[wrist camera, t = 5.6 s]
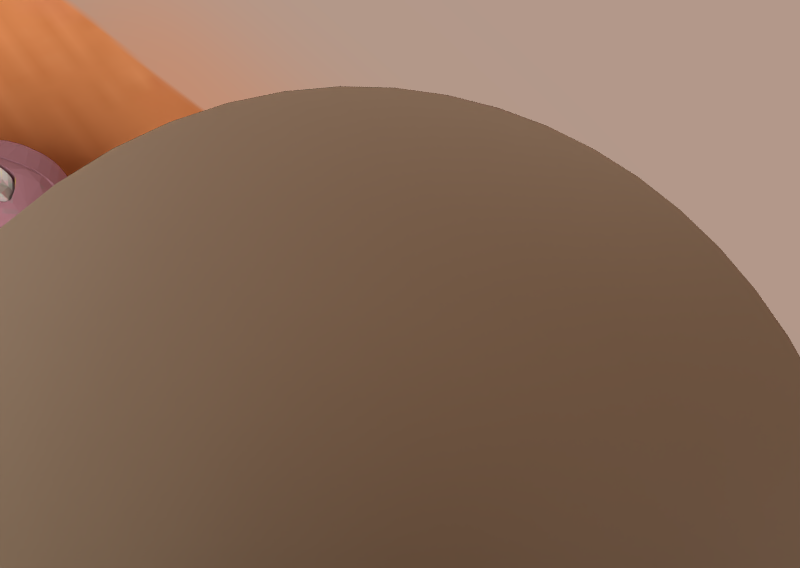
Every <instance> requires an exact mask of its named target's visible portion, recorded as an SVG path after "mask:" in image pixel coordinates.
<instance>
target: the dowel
mask: <svg viewBox="0 0 800 568" xmlns="http://www.w3.org/2000/svg"><path fill="white" fill-rule="evenodd" d="M0 568H800V357H799V355H798V353H797V351H796V349H795V348H794V346H793V344H792V342H791V341H790V339H789V337H788V335H787V334H786V333H785V331H784V330H783V328H782V327H781V326H780V324H779V323H778V321H777V320H776V318H775V317H774V316H773V314H772V313H771V311H770V310H769V309H768V307H767V306H766V304H765V303H764V301H763V300H762V298H761V297H760V296H759V294H758V293H757V291H756V290H755V289H754V288H753V286H752V285H751V284H750V283H749V282H748V281H747V279H746V278H745V277H744V276H743V275H742V273H741V272H740V271H739V270H738V269H737V268H736V266H735V265H734V264H733V263H732V262H731V261H730V260H729V258H728V257H727V256H726V255H725V254H724V252H723V251H722V250H721V249H720V248H719V247H718V246H717V245H716V244H715V243H714V242H713V241H712V240H711V239H710V238H709V237H708V236H707V235H706V234H705V233H704V232H703V231H701V230H700V229H699V228H698V227H697V226H696V225H695V224H694V223H693V222H692V221H691V220H690V219H689V218H688V217H687V216H686V215H685V214H684V213H683V212H682V211H681V210H679V209H678V208H677V207H676V206H674V205H673V204H672V203H670V202H669V201H668V200H667V199H665V198H664V197H663V196H662V195H660V194H659V193H658V192H657V191H655V190H654V189H653V188H651V187H650V186H649V185H647V184H646V183H645V182H644V181H642V180H641V179H640V178H638V177H637V176H636V175H634V174H632V173H631V172H629V171H627V170H626V169H625V168H623V167H621V166H620V165H618V164H616V163H615V162H613V161H612V160H610V159H609V158H607V157H606V156H604V155H602V154H601V153H599V152H598V151H596V150H594V149H593V148H590V147H589V146H586V145H584V144H582V143H580V142H578V141H576V140H574V139H572V138H570V137H568V136H566V135H564V134H562V133H560V132H558V131H556V130H554V129H552V128H550V127H548V126H546V125H543V124H540V123H538V122H535V121H532V120H529V119H527V118H524V117H521V116H519V115H516V114H513V113H511V112H508V111H505V110H502V109H500V108H497V107H493V106H488V105H484V104H480V103H477V102H473V101H469V100H464V99H461V98H457V97H453V96H449V95H443V94H436V93H428V92H420V91H414V90H406V89H399V88H381V87H341V86H340V87H329V88H317V89H306V90H295V91H284V92H279V93H275V94H269V95H264V96H259V97H255V98H250V99H245V100H240V101H235V102H230V103H226V104H223V105H220V106H217V107H214V108H212V109H208V110H205V111H202V112H199V113H196V114H193V115H190V116H187V117H184V118H181V119H178V120H175V121H172V122H169V123H167V124H165V125H163V126H160V127H158V128H156V129H154V130H152V131H150V132H148V133H145V134H143V135H141V136H139V137H137V138H135V139H132V140H130V141H128V142H126V143H124V144H122V145H120V146H117V147H115V148H113V149H111V150H110V151H108V152H107V153H105V154H103V155H102V156H100V157H98V158H97V159H95V160H94V161H92V162H90V163H89V164H87V165H85V166H84V167H82V168H81V169H79V170H77V171H76V172H74V173H73V174H71V175H69V176H68V177H66V178H64V179H63V180H61V181H60V182H58V183H56V184H55V185H54V186H52V187H51V188H50V189H49V190H47V191H46V192H45V193H44V194H42V195H41V196H40V197H39V198H37V199H36V200H35V201H34V202H32V203H31V204H30V205H29V206H27V207H26V208H25V209H24V210H22V211H21V212H20V213H19V214H17V215H16V216H15V217H14V218H12V219H11V220H10V221H8V222H7V223H6V224H5V225H3V226H2V227H1V228H0Z"/></svg>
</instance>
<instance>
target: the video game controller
mask: <svg viewBox="0 0 800 568" xmlns="http://www.w3.org/2000/svg"><path fill="white" fill-rule="evenodd" d="M66 177H67V175H66V174H65V173H64V172H63V170H62V169H61V168H60V167H59V166H58V165H57V164H56V163H55V162H54V161H53V160H51V159H50V158H48V157H47V156H45V155H43V154H42V153H40V152H38V151H35V150H33V149H31V148H29V147H27V146H24V145H22V144H18V143H14V142H10V141H4V140H0V228H1V227H2V226H3V225H5V224H6V223H7V222H8V221H10V220H11V219H12V218H14V217H15V216H16V215H17V214H19V213H20V212H21V211H22V210H24V209H25V208H26V207H27V206H29V205H30V204H31V203H32V202H34V201H35V200H36V199H37V198H39V197H40V196H41V195H42V194H44V193H45V192H46V191H47V190H49V189H50V188H51V187H52V186H54V185H55V184H56V183H58V182H60V181H61V180H63V179H64V178H66Z"/></svg>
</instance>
